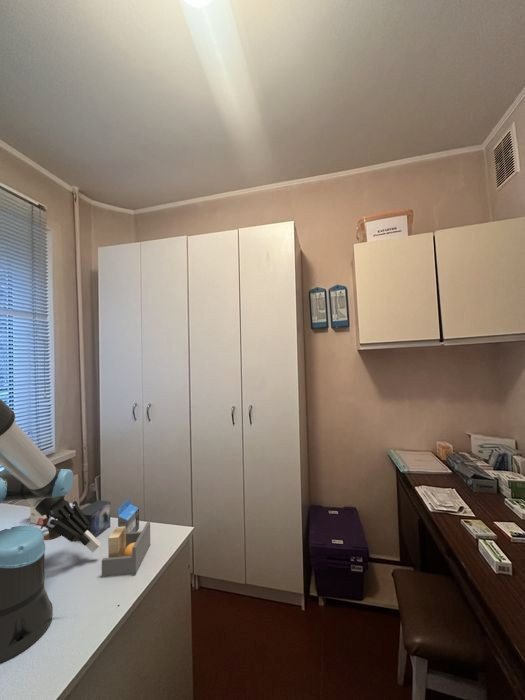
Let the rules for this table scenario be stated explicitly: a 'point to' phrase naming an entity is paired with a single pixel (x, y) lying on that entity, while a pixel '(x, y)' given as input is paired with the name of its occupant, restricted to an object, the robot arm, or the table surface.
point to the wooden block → (117, 542)
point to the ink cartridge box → (36, 516)
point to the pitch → (129, 563)
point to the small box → (98, 517)
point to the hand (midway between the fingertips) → (97, 548)
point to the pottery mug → (52, 533)
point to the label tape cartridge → (128, 517)
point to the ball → (129, 550)
